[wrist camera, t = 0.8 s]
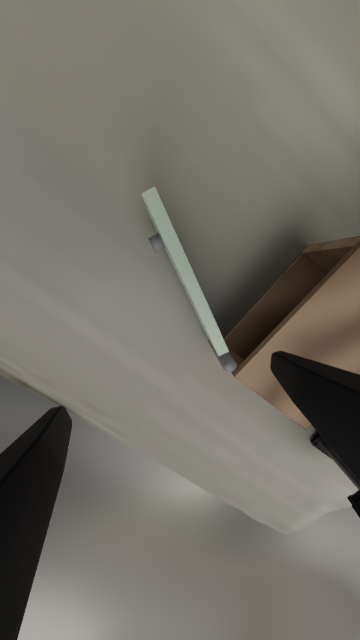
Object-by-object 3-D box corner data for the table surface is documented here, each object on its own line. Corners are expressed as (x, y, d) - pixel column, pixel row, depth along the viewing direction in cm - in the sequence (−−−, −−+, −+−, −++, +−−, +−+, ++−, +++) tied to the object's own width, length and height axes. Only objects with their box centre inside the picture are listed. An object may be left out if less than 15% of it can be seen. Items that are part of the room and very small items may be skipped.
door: (160, 212, 18) (155, 184, 12) (220, 342, 22) (238, 368, 16) (141, 222, 18) (127, 199, 12) (204, 349, 22) (216, 378, 16)
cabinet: (360, 302, 22) (436, 315, 15) (270, 389, 24) (305, 429, 18) (308, 245, 19) (372, 233, 13) (216, 347, 22) (234, 376, 16)
